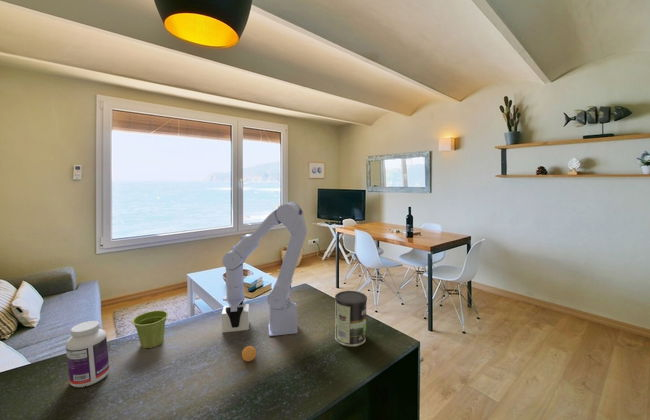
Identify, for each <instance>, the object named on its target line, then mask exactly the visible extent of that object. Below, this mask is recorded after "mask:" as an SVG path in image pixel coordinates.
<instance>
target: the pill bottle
mask: <svg viewBox="0 0 650 420" xmlns="http://www.w3.org/2000/svg"><path fill="white" fill-rule="evenodd" d="M70 335H71V336H70V337H69V338H68V339H67V340H66V342H65V351H66V352H65V353H66V359H67V360H66V361H67V369H68V380H69V384H70V385H71V386H72V387H75V388H85V386H86V387H88V386H89V387H90V386H91V385H94V384H96V383H98V382H100V381H101V380H102V379H104V378H105V377H106V376H107V375H108V374H109V371H110V362H109V361H110V360H109V350H108V340H107V338H108V337H107V332H106V331H105V330H104V329H102V328H100V322H99V321H97V320H89V321H84V322H80V323H78V324H75V325H74V326H72V328H71V329H70Z"/></svg>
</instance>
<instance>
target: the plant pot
mask: <svg viewBox="0 0 650 420" xmlns="http://www.w3.org/2000/svg"><path fill="white" fill-rule="evenodd" d="M168 316H169V313H168V312H167V311H165V310H152V311H151V310H150V311H147V312H144V313H142V314H139V315H138V316H137V315H136V317H134V318H133V319H132V321H131V323H132V324H133V325H134V328H135V329H136V332H137V335H138V339H139V343H140V347H141V348H142V347H143V348H142V349H153V348H152V347H154V348H156V347H158V346H161V344H162V343H163V342H164V339H165V327H166V321H167V318H168ZM157 345H158V346H157ZM155 346H156V347H155Z"/></svg>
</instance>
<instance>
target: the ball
mask: <svg viewBox="0 0 650 420" xmlns="http://www.w3.org/2000/svg"><path fill="white" fill-rule="evenodd" d="M256 356H257V349H256V347H255V346H252V345H247V346H245V347H244V348H243V349H242V351H241V357H242V360H244V361H245V362H252V361H253V360H255V358H256Z"/></svg>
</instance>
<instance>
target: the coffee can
mask: <svg viewBox="0 0 650 420" xmlns="http://www.w3.org/2000/svg"><path fill="white" fill-rule="evenodd" d="M334 300H335V302H334V303H335V304H334V305H335V310H334V312H335V314H334V315H335V316H334V317H335V319H334V321H335V323H334V324H335V325H334V329H335V331H334V339H335V341H336V342H337V343H338V344H340V345H343V346H346V347H359V346H362V345H363V344H364V343H365V342H366V341H367V340H366V339H367V336H366V335H367V301H368V296H367V295H366V294H365V293H363V292H360V291H354V290H343V291H339V292H338V293H336V294H335V295H334Z"/></svg>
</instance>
